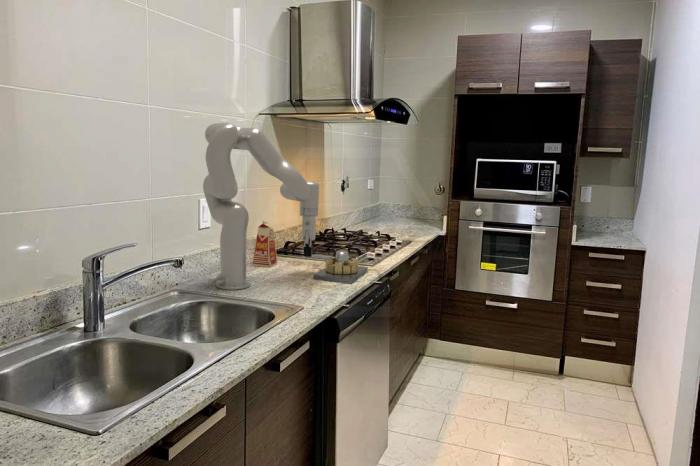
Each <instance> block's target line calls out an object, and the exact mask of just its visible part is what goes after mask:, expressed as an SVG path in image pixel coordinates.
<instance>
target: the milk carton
mask: <svg viewBox="0 0 700 466" xmlns="http://www.w3.org/2000/svg"><path fill="white" fill-rule="evenodd" d="M274 232H275V231H274V228H273V227H272V226H271V225H269V222H268V221H265V220H262V224H260V225H259V226H258V228H257V233H256V236H255V237H256V238H255V246H254V251H253V257H252V262H251V266H252V267H260V268H273V267H274V266H276V265H277V264H278V258H277V255H278V254H277V246H276V239H275V233H274Z"/></svg>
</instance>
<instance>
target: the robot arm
mask: <svg viewBox="0 0 700 466" xmlns="http://www.w3.org/2000/svg"><path fill="white" fill-rule="evenodd" d="M204 137H205V140H206V142H207V143H208V145H207V147H206V150H205V163H206V167H207V173H208V174H207V175H206V176H205V177H204V179H203V182H202V187H203V188H202V189H203V194H204V197H205V200H206V204H207V207H208V211H209V213H210V216H211V217H212V220H213V221H214V222H215V223H218V224H220V225H221V226H222V227H221V231H220V237H219V239H220V240H219V241H220V242H219V243H220V244H219V245H220V246H219V247H220V248H219V253H220V254H219V255H220V257H219V258H220V259H219V263H220V264H219V265H220V266H219V267H220V273H219V274H217V276H215V277H214V278H209V279H208V284H209V285H213V284H216V285H215V286H216V287H217V289H221V290H227V291H228V290H231V291H232V290H235V291H236V290H243V289H247V288H249V287H251V281H250V280H248V279H247V233H248V227H249V221H250V216H249V211H248V209H247V208H246V207H245V206H244V204H241V203H239V202H236V201H233V200H232V199H235V197H237V194H238V192H239V189H238V183H237V180H236V176H235V173H234V168H233V165H232V161H231V160H232V159H231V154H232V151H233V150H242V151H248V152H249V153H250V154H251V156H252V157H253V158H254V159H255V160H256V161H255V162H257V163H258V165H259V167H260V168H261V169H262V170H263V171H265V173H267V174H268V175H271V176H272V177H274V178H276V179H278V180H279V181H280V182H282V183H281V185H280V187H279V192H280V195H281V197H283V198H285V199H286V200H290V201H296V202H299V216H300V217H302V219H301V221H302V223H301V237H302V239H301V240H302V241H303V254H302V255H303V257H305V258H307V257H311V252H312V253H313V246H312V247H311V244H312V242H314V241H315V239H316V226H317V225H316V217H318V216H319V204H320V203H319V202H320V201H319V199H320V184H319V183H318V182H316V181H309V180H308V181H306V179H305V178H304V177H303V175H302V174H301V173H300V172H299V170H298V169H296V168H295V166H293V165H292V164H291V163H289V162H288V160H286V159H285V158H284V157H282V156H281V154H280V152H278V151H279V150H277V149H276V147H275V146H274V145H273V143H272V142H271V141H270V139H269V138H268V136H266V134H265V133H264V132H263V131H262V129H260V128H258V127H242V126H236V125H235V124H233V123H229V122H215V123H211V124H209V125H208V126H207V127H206V129H205V131H204Z"/></svg>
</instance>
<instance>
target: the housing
mask: <svg viewBox="0 0 700 466" xmlns="http://www.w3.org/2000/svg"><path fill="white" fill-rule="evenodd" d="M335 257H336V262H343V266H344V265H347V262H348V257H349V251H346V250H336V252H335ZM368 269H369V267H367V266H361V265H360V266H359V265H358V271H357V272H356V273H352V274H334V273H330V272H327V271H326V270H325V267H324V268H322V270H319V271H317V272H314V273H313V274H312V275H313V278H312V279H313V280H317V281H324V282H332V283H340V284H346V285H347V284H348V285H352V284H353V283H354V282H356V281H357V280H359V279H360V278H361V277H363V276H364V275H365V274H367V273H368V271H369V270H368Z"/></svg>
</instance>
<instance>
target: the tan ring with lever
mask: <svg viewBox="0 0 700 466" xmlns="http://www.w3.org/2000/svg"><path fill="white" fill-rule="evenodd" d="M311 247H312V248H313V244H312V243H311ZM306 258H309V259H322V260H325V262H324V263H325V264H324V265H325V266H324V268H325V270H326V271H327V272H330V273H334V274H352V273H356V272H357V271H358V266H359V259H358V258H350V259H349V256H348V262H347V265H344V266H343V262H336V256H332V255H324V254H314V253H313V251H312V252H311V257H306Z"/></svg>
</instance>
